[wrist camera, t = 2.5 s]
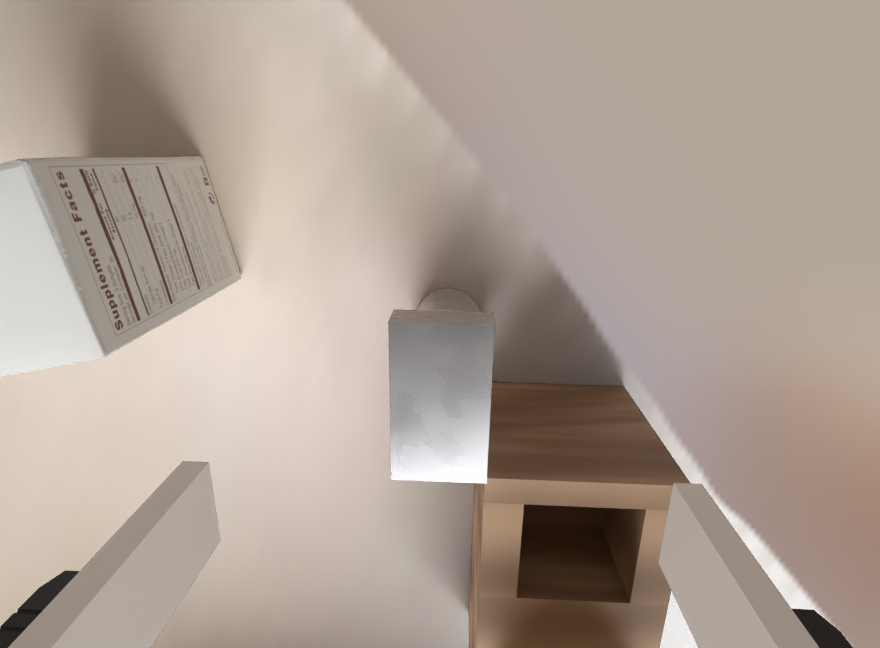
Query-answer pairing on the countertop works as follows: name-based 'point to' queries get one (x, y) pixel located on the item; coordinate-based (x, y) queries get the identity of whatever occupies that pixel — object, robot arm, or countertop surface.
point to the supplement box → (103, 253)
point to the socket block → (570, 521)
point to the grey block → (441, 389)
